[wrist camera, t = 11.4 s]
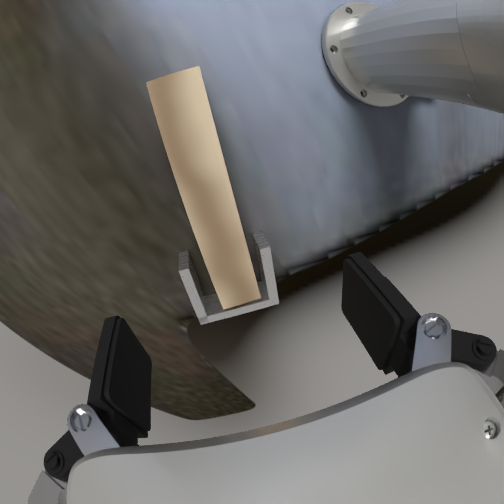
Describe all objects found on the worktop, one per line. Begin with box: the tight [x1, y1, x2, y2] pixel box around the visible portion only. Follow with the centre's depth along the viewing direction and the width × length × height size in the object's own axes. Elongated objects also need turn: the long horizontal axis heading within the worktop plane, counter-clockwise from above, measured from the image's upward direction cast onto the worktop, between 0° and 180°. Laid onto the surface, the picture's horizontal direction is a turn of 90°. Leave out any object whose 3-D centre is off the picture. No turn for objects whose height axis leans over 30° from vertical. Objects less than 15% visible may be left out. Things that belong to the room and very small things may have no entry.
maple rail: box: [146, 66, 261, 310], centre depth 24 cm, size 4×22×5 cm, turn 13°
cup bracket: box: [179, 231, 279, 325], centre depth 29 cm, size 9×8×4 cm
